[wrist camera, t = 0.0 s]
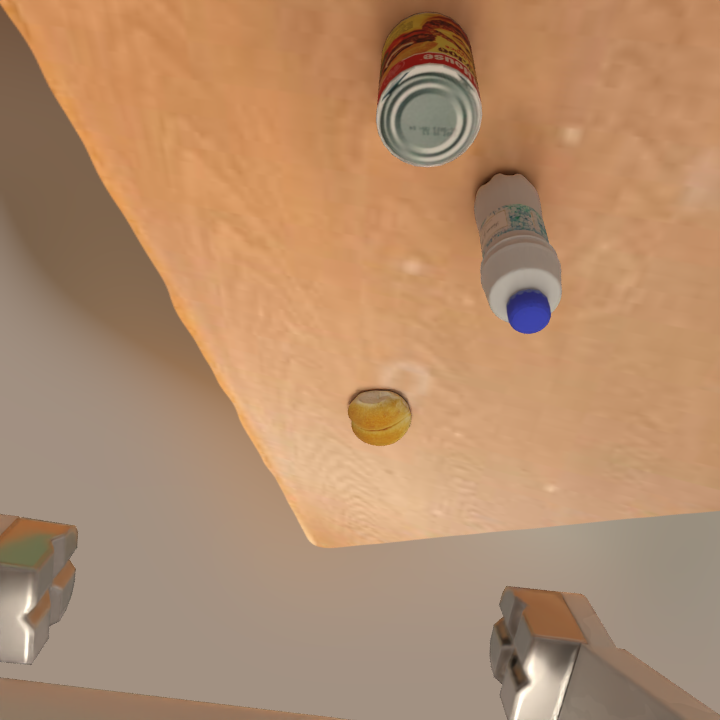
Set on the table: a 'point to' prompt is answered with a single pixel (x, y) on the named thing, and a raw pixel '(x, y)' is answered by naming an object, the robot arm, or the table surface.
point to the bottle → (516, 253)
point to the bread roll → (379, 417)
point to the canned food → (428, 91)
